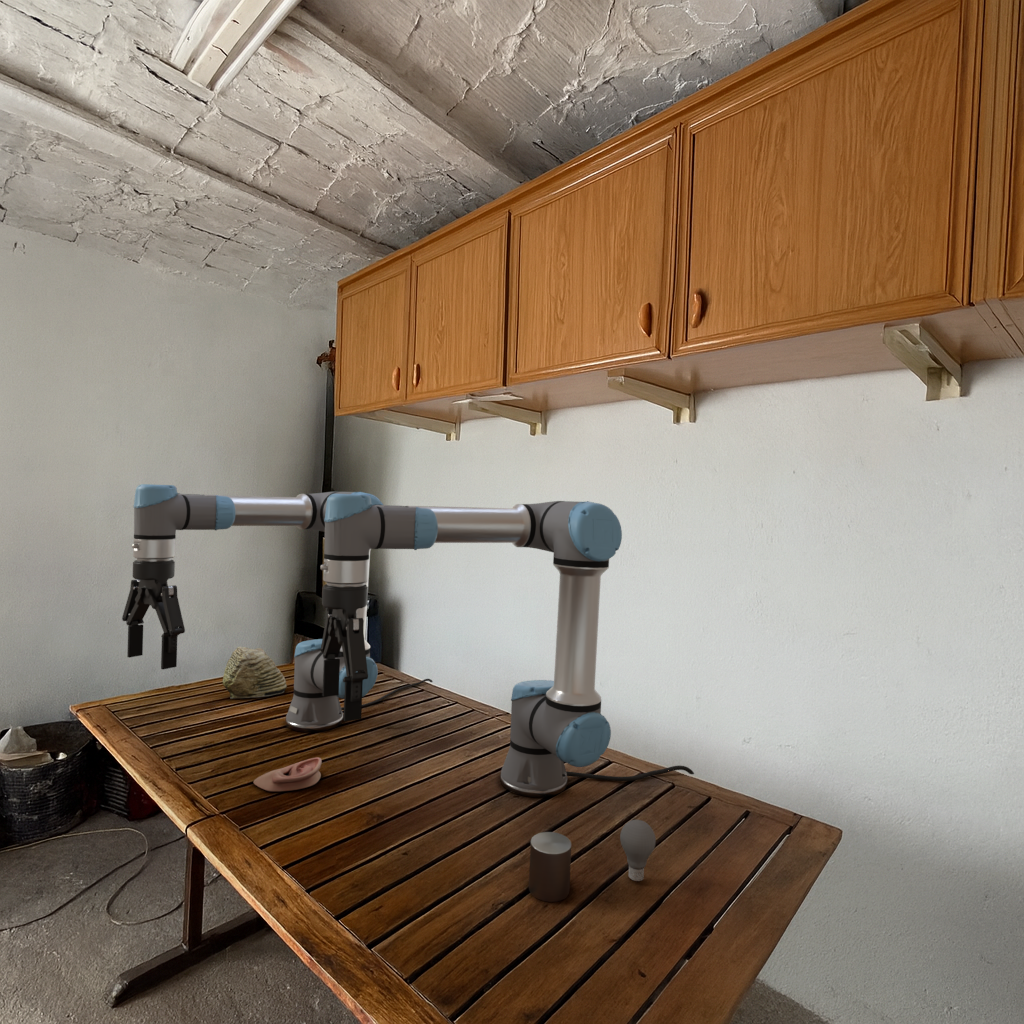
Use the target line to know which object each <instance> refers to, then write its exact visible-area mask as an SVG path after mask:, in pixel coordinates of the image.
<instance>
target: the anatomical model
mask: <svg viewBox="0 0 1024 1024" xmlns="http://www.w3.org/2000/svg"><path fill="white" fill-rule="evenodd" d="M322 762H323V761H322V758H321V757H312V758H308V759H305V760H301V761H299V762H296V763H293V764H290V765H287V766H285V767H281V768H278V769H273V770H271V771H268V772H265V773H264V774H262V775H259V776H258V777H257V778H255V779H254V780H253V784H254V785H255V786H257V787H258V788H259V789H262V790H263V791H264V790H265V791H267V792H289V791H297V790H301V789H305V788H309V787H312V786H314V785H316V784H317V783H318V782H319V781H320V779H321V777H322V774H321V772H320V771H319V770H320V769H321V767H322Z"/></svg>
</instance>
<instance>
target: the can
mask: <svg viewBox="0 0 1024 1024" xmlns="http://www.w3.org/2000/svg"><path fill="white" fill-rule="evenodd" d="M529 850H530V851H529V853H530V854H529V872H528V873H529V874H528V892H529V893H530V894H531V896H533V898H536V899H537V900H539V901H542V902H547V903H557V902H560V901H563V900H565V899H566V898H567V897H568V896H569V894H570V889H571V888H570V886H571V867H572V866H571V865H572V864H571V863H572V841H571V840H570V839H569V837H567V836H566V835H564V834H562V833H559V832H555V831H542V832H538V833H535V834H534V835H533V836H532V837H531V839H530V848H529Z"/></svg>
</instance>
